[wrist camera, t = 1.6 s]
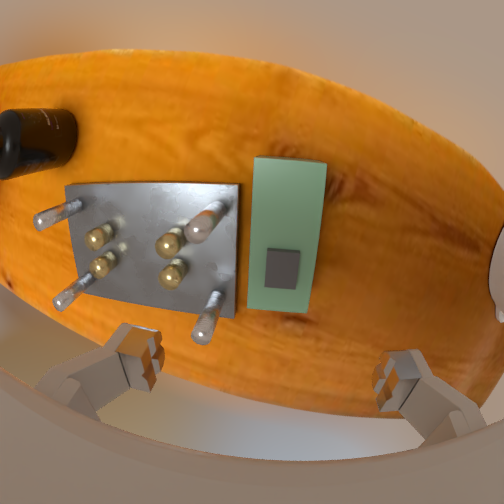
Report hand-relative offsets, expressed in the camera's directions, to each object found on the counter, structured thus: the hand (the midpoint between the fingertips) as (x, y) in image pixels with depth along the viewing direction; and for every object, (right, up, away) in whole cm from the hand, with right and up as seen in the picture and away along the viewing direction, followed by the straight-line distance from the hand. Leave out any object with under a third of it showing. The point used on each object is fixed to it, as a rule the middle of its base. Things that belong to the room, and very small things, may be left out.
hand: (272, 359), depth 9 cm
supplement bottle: (-22, +17, +14) cm, 31 cm away
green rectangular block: (+2, +6, +15) cm, 16 cm away
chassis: (-11, +4, +17) cm, 21 cm away
